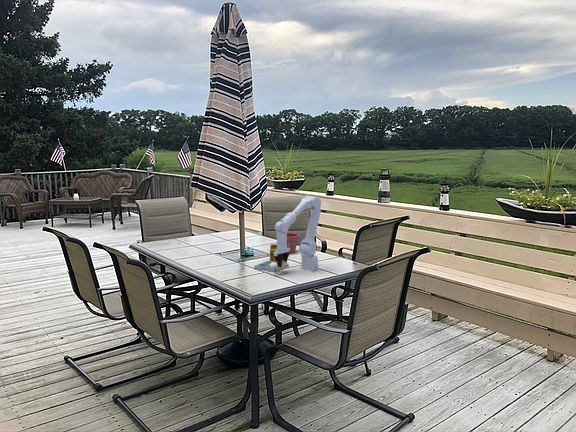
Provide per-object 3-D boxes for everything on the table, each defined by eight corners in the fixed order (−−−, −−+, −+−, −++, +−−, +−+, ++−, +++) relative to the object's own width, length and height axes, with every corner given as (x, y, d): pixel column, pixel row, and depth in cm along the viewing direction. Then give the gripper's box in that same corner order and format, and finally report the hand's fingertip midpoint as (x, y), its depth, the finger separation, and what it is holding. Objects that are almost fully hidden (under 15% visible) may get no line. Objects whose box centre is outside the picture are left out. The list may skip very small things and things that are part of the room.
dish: (289, 273, 272) (289, 272, 272) (283, 276, 267) (283, 274, 267) (280, 272, 275) (280, 270, 275) (274, 274, 270) (274, 273, 270)
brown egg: (287, 267, 271) (287, 259, 270) (283, 269, 267) (283, 261, 267) (280, 266, 274) (280, 258, 273) (276, 268, 270) (276, 260, 269)
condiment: (276, 265, 292) (276, 246, 290) (265, 263, 296) (264, 244, 294) (282, 262, 298) (282, 244, 297) (271, 261, 303) (270, 242, 301)
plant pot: (303, 252, 325) (303, 234, 323) (287, 255, 316) (287, 237, 315) (290, 249, 336) (290, 231, 334) (274, 252, 328) (274, 234, 326)
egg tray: (288, 268, 284) (288, 263, 284) (275, 274, 272) (275, 269, 271) (268, 265, 292) (268, 260, 291) (254, 270, 279) (254, 265, 279)
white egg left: (278, 269, 278) (278, 262, 277) (274, 271, 274) (274, 263, 273) (272, 268, 280) (272, 261, 279) (267, 270, 276) (267, 262, 275)
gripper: (281, 245, 260) (281, 269, 262) (294, 241, 272) (294, 263, 274) (270, 244, 264) (270, 267, 266) (283, 239, 276) (284, 262, 278)
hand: (282, 265), depth 270 cm, fingers closed on brown egg, 5 cm apart
